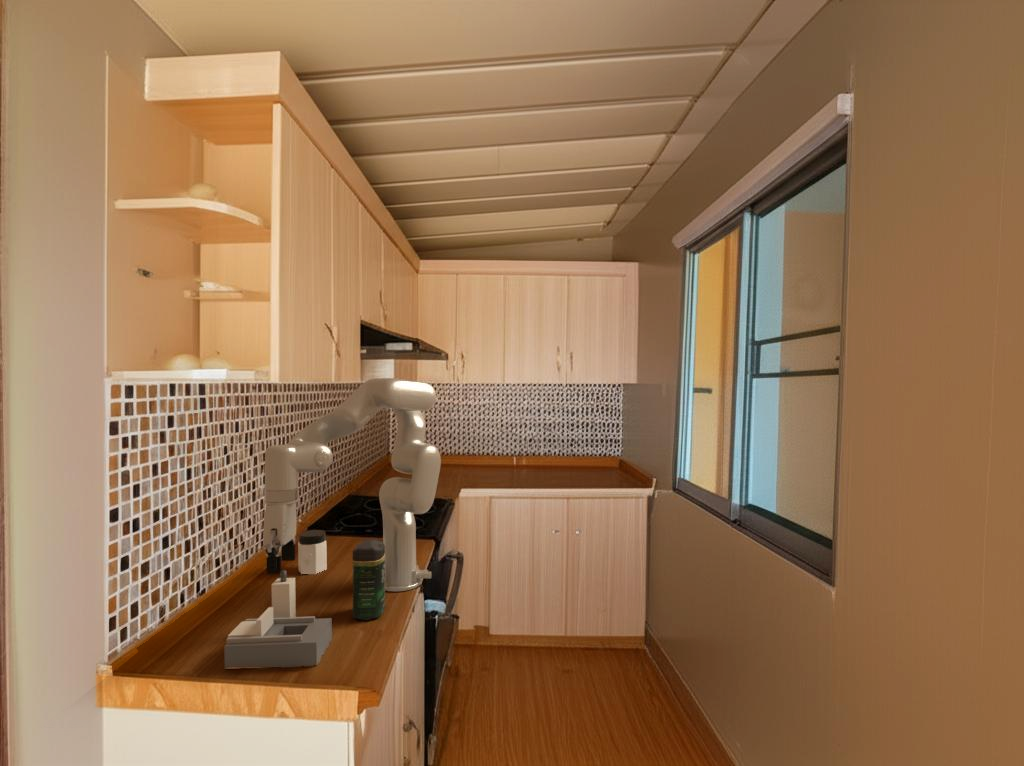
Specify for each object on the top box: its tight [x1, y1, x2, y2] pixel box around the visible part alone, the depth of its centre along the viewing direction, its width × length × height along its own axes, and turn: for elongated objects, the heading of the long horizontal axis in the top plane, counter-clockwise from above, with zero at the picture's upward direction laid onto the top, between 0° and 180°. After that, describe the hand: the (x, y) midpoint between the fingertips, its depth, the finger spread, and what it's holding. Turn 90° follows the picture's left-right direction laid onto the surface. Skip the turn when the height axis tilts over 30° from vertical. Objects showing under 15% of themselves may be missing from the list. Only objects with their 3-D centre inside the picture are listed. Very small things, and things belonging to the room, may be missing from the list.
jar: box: [297, 529, 328, 575], centre depth 176 cm, size 9×8×12 cm
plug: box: [270, 569, 297, 618], centre depth 134 cm, size 4×4×14 cm
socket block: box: [223, 615, 333, 669], centre depth 122 cm, size 19×12×6 cm, turn 93°
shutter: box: [227, 606, 274, 638], centre depth 122 cm, size 7×7×4 cm
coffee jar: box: [352, 539, 386, 621], centre depth 143 cm, size 10×8×19 cm
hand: (281, 566), depth 133 cm, fingers open, 9 cm apart
